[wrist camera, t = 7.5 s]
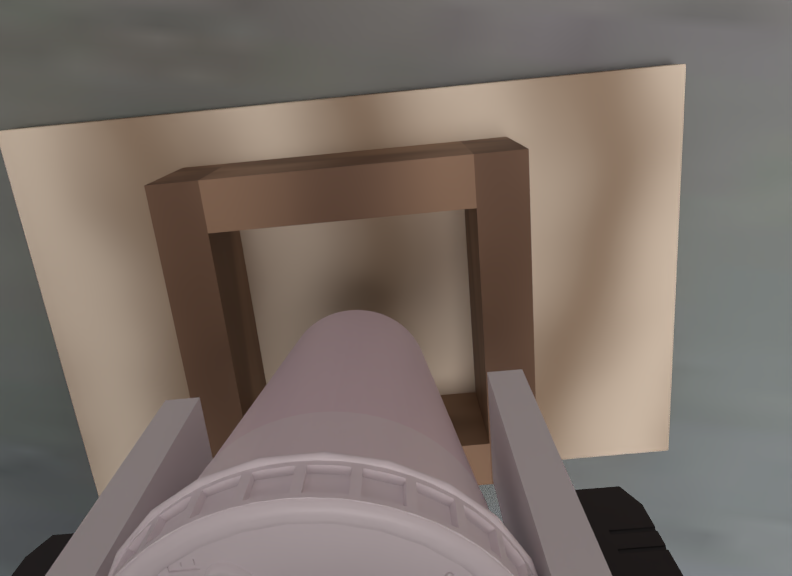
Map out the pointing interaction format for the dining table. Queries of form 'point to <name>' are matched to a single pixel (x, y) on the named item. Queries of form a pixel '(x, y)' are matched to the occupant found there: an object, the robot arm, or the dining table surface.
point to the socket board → (369, 250)
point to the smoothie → (334, 476)
